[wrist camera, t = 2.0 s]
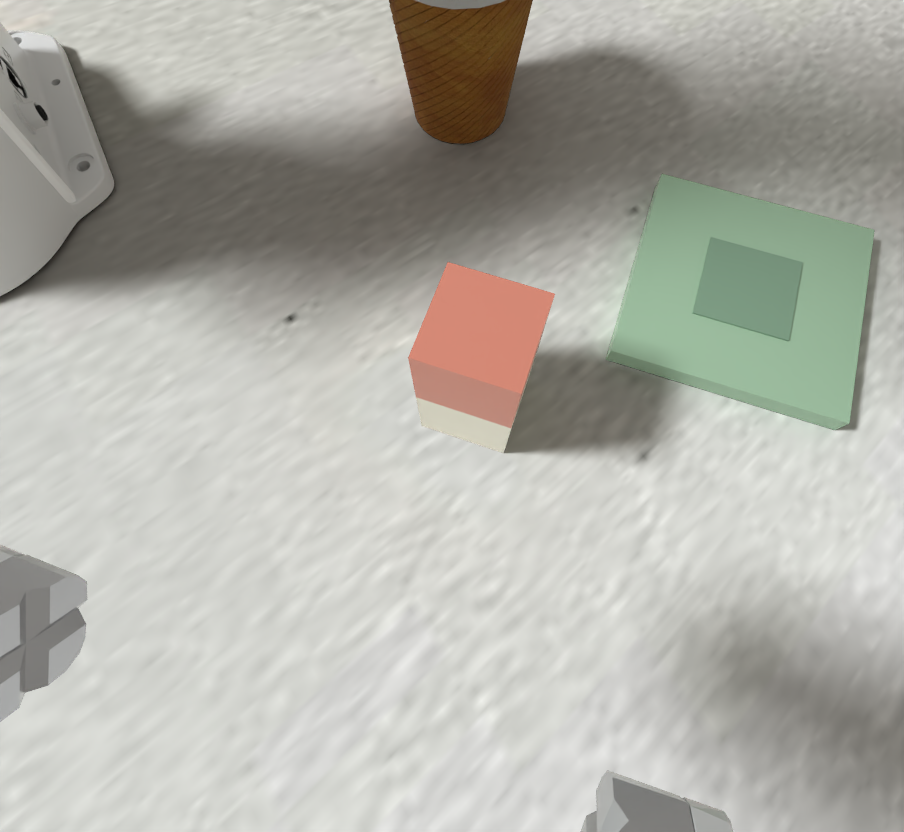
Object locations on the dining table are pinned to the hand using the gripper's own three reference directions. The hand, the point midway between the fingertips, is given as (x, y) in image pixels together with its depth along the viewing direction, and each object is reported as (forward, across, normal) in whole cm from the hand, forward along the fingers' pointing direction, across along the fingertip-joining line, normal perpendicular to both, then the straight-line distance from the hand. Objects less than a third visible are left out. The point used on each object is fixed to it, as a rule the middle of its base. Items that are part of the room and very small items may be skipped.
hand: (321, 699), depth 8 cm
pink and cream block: (+24, +2, +1) cm, 24 cm away
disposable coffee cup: (+35, +9, -16) cm, 40 cm away
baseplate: (+31, -11, -8) cm, 34 cm away
